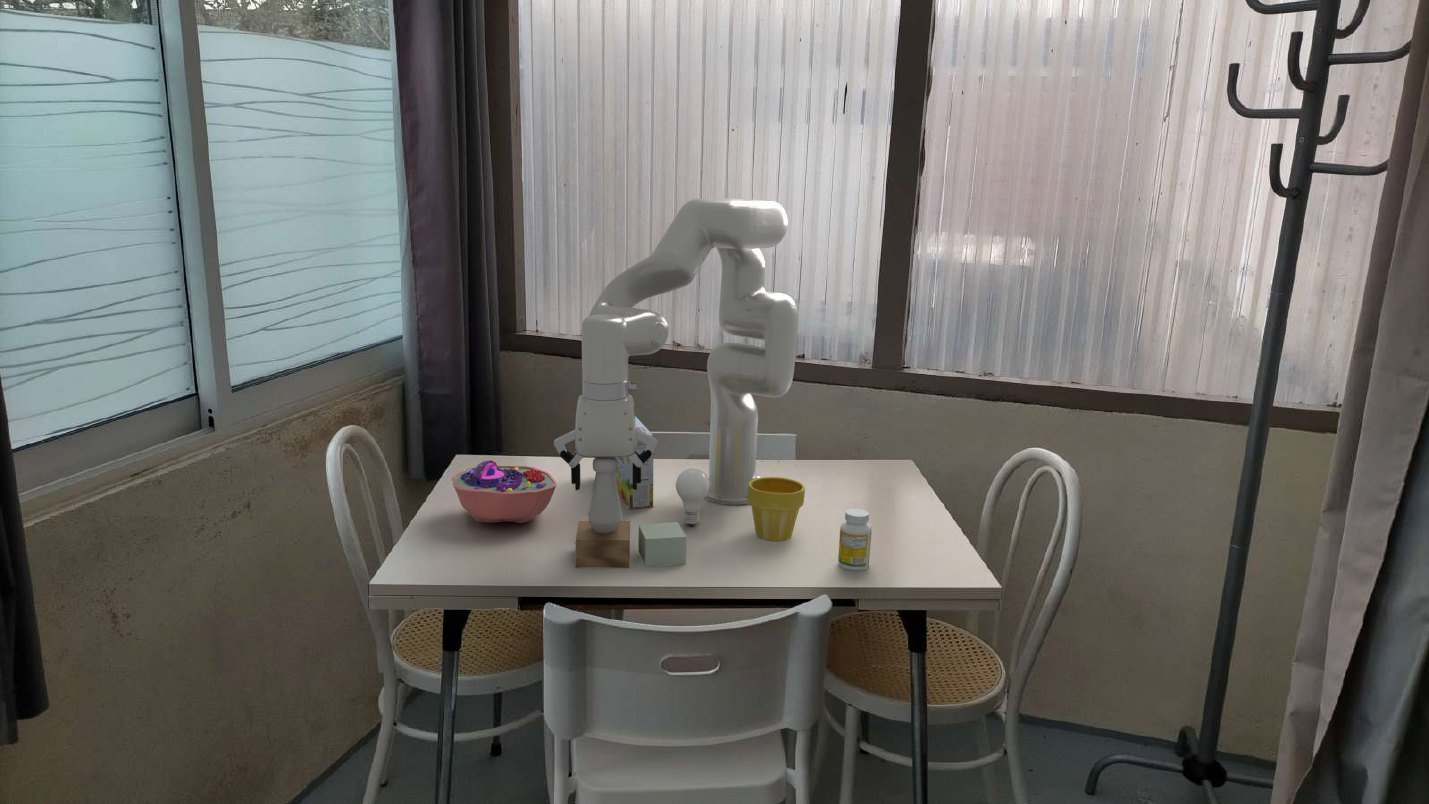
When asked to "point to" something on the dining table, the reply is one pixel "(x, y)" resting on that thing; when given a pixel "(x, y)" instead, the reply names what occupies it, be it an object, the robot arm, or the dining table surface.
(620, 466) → the snack box
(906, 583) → the dining table surface
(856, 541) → the supplement bottle
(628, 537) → the walnut block
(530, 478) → the cell model
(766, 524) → the plant pot
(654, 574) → the dining table surface
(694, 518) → the lightbulb
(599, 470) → the salt shaker
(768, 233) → the robot arm
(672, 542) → the sage block
